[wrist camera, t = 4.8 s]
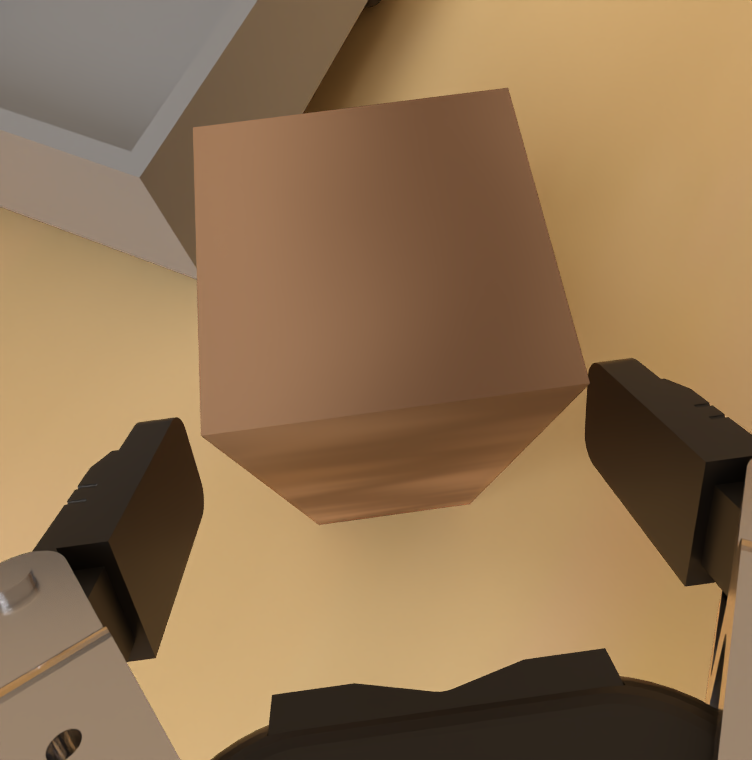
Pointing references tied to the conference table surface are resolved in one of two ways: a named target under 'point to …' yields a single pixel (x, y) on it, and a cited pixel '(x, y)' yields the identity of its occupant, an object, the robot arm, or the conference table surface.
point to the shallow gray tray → (144, 104)
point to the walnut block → (377, 303)
